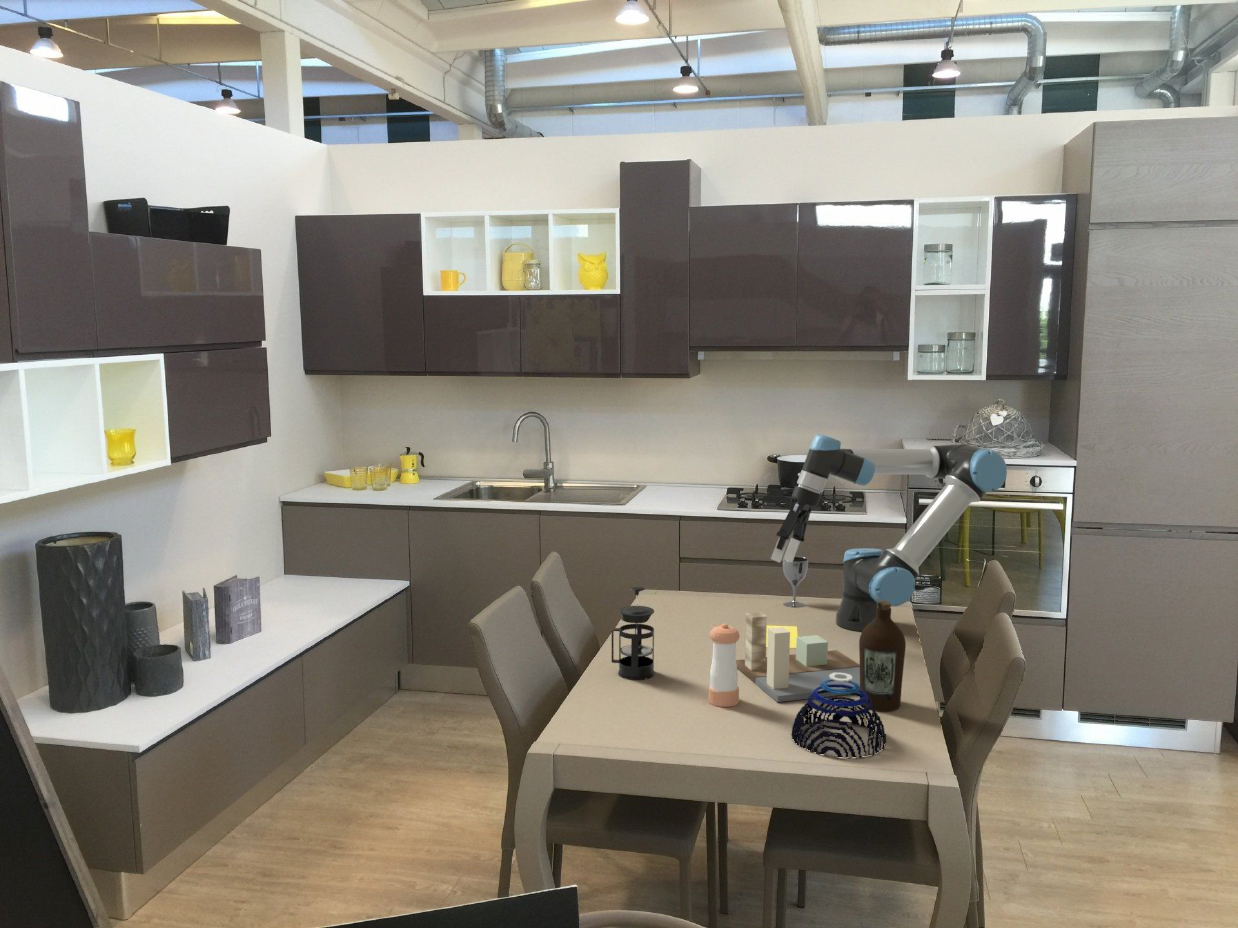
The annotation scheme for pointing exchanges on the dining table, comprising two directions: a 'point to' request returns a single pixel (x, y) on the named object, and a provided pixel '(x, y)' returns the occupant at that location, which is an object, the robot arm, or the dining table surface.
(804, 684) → the gray board with post
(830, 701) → the blue ringed dome
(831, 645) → the dining table surface
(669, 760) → the dining table surface
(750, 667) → the wooden base with post
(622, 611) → the french press
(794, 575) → the wine glass
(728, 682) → the pepper shaker
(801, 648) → the sage block
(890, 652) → the olive oil
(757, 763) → the dining table surface
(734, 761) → the dining table surface
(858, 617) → the robot arm
